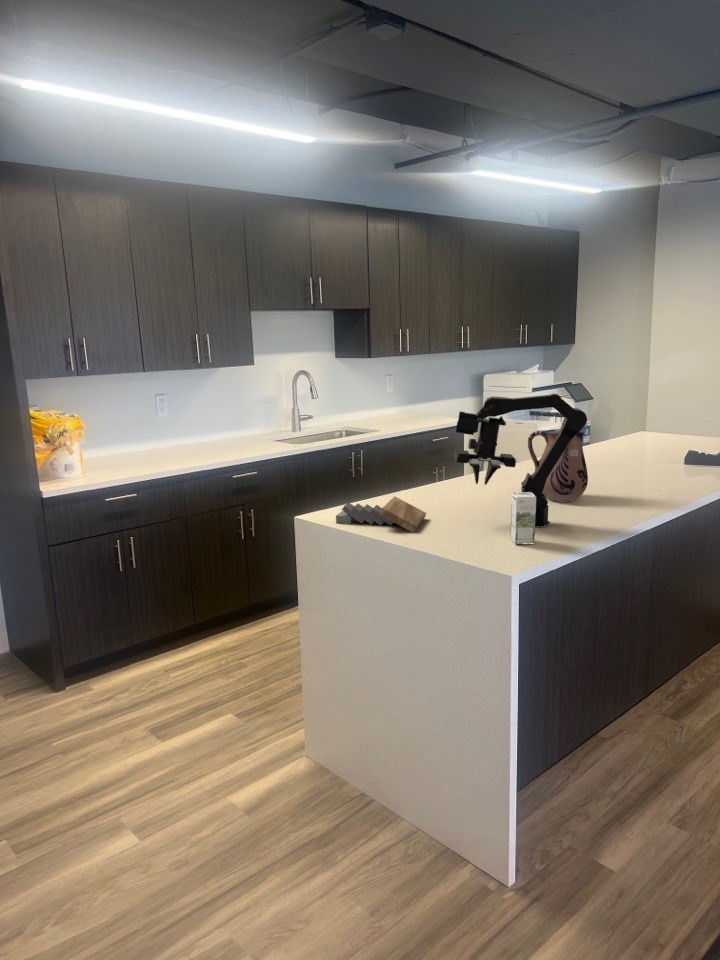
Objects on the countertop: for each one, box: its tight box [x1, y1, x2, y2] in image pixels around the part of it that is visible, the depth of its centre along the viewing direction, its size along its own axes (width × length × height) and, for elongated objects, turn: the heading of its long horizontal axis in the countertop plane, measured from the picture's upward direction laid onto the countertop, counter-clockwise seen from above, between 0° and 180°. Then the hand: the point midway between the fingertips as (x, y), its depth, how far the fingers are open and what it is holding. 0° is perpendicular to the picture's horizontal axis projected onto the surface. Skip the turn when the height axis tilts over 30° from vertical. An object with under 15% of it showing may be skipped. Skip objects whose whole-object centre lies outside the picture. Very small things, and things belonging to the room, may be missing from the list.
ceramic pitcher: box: [527, 428, 589, 502], centre depth 249 cm, size 18×21×25 cm
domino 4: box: [370, 504, 394, 526], centre depth 225 cm, size 2×5×8 cm
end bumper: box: [335, 510, 357, 525], centre depth 229 cm, size 5×6×2 cm
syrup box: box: [509, 491, 536, 545], centre depth 200 cm, size 6×6×14 cm
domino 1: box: [341, 502, 366, 524], centre depth 227 cm, size 2×5×8 cm
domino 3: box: [361, 503, 385, 526], centre depth 226 cm, size 2×5×8 cm
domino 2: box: [352, 503, 375, 526], centre depth 226 cm, size 2×5×8 cm
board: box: [379, 496, 427, 533], centre depth 223 cm, size 2×16×12 cm
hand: (480, 484), depth 222 cm, fingers open, 2 cm apart
